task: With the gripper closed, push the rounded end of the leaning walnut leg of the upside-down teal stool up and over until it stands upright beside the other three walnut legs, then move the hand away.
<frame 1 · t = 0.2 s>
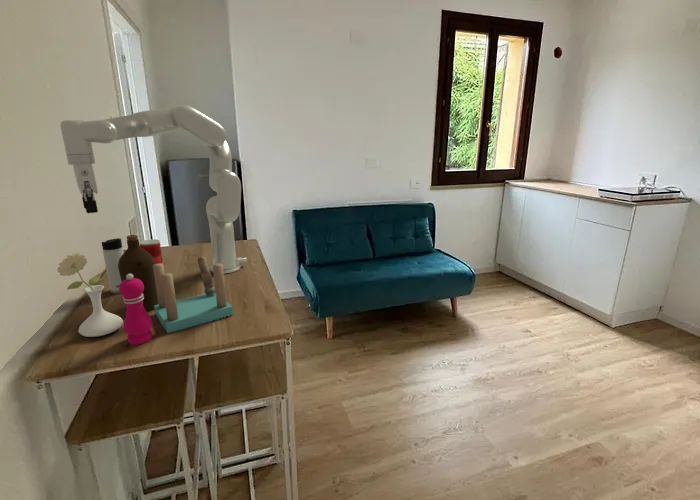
hand: (91, 210, 135), 31 cm above the table, tool pointing down, fingers open, 9 cm apart
travel mug: (120, 291, 147), on the table
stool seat: (194, 314, 128), on the table
pepper mill: (140, 339, 112), on the table
canned food: (153, 265, 174), on the table
hinged leg: (207, 281, 135), point 8 cm above the table, hinge at 30.0°
olive oil: (143, 307, 133), on the table
flower in vase: (99, 332, 116), on the table
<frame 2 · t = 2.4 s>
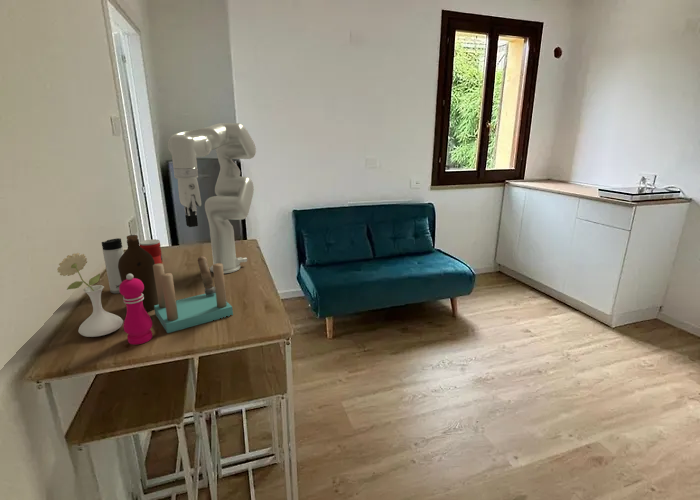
hand: (192, 225, 139), 25 cm above the table, tool pointing down, fingers closed
nothing on the table moved.
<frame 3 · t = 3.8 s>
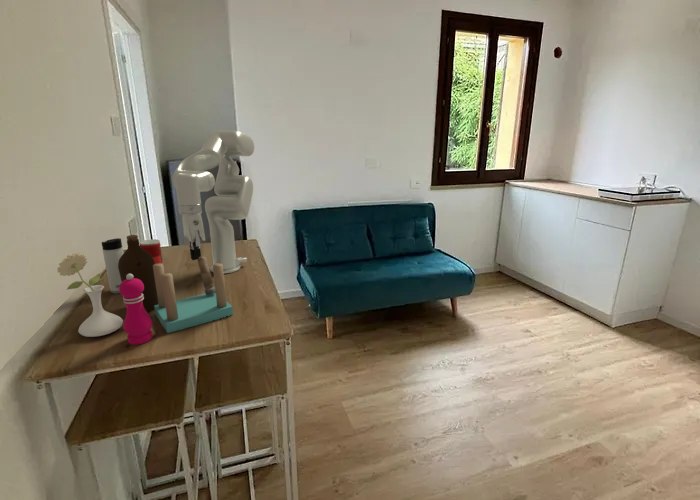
hand: (196, 258, 142), 13 cm above the table, tool pointing down, fingers closed
nothing on the table moved.
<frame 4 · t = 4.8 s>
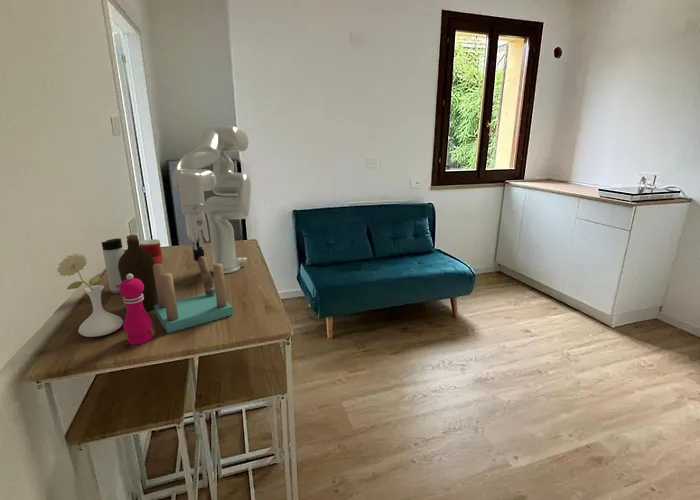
hand: (199, 259, 138), 14 cm above the table, tool pointing down, fingers closed
hinged leg: (207, 281, 135), point 8 cm above the table, hinge at 30.0°, touching gripper
everything else where it was.
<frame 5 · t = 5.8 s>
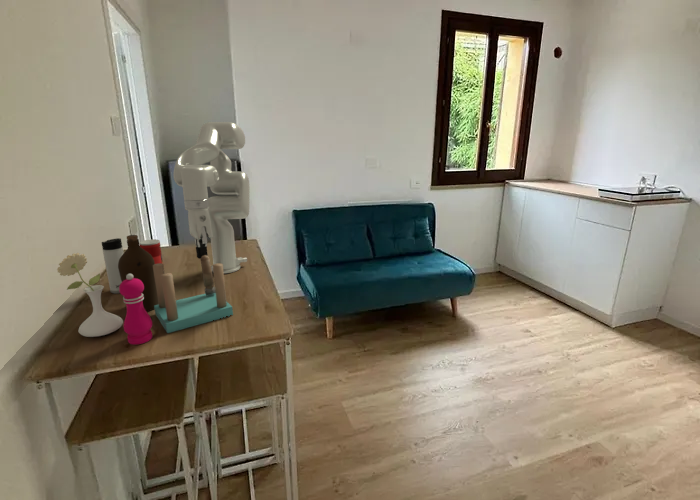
hand: (202, 257, 135), 16 cm above the table, tool pointing down, fingers closed
hinged leg: (208, 281, 134), point 8 cm above the table, hinge at 9.7°, touching gripper
everything else where it was.
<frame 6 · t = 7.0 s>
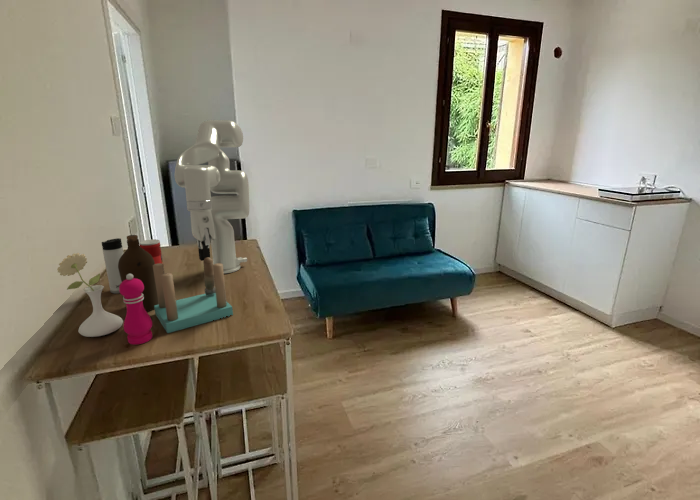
hand: (205, 259, 132), 16 cm above the table, tool pointing down, fingers closed
hinged leg: (209, 282, 133), point 8 cm above the table, hinge at -6.8°, touching gripper
everything else where it was.
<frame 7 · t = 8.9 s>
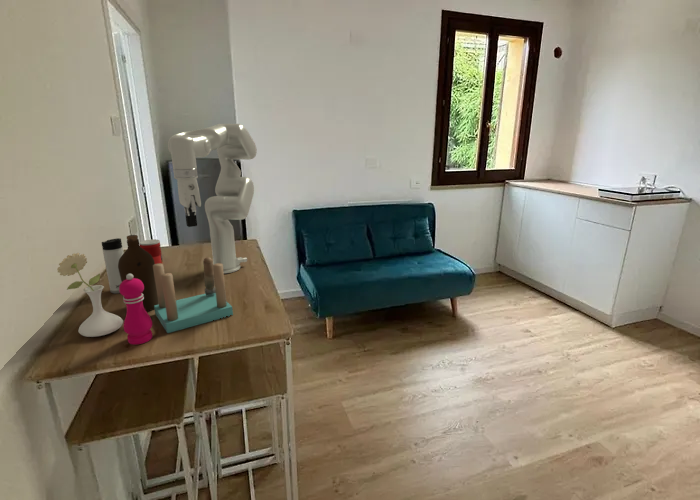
hand: (192, 225, 139), 25 cm above the table, tool pointing down, fingers closed
hinged leg: (209, 281, 133), point 8 cm above the table, hinge at -6.6°
everything else where it was.
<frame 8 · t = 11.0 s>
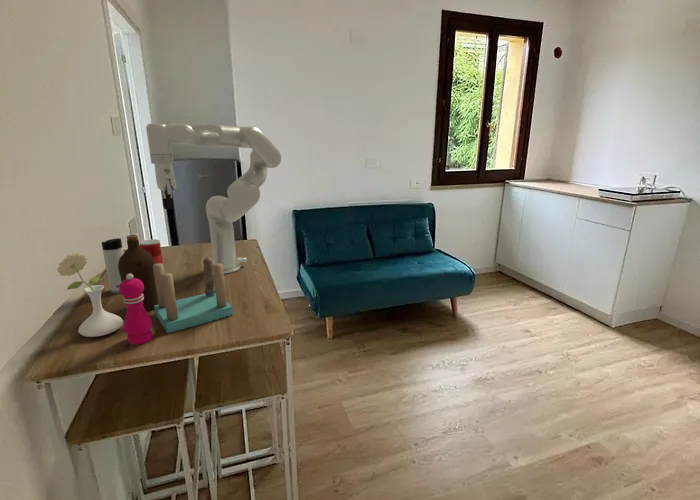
hand: (168, 208, 148), 29 cm above the table, tool pointing down, fingers closed
nothing on the table moved.
at the end: hinged leg at -7° (first picture: +30°) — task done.
